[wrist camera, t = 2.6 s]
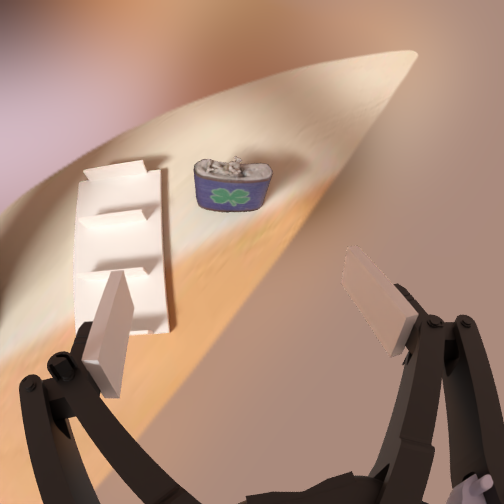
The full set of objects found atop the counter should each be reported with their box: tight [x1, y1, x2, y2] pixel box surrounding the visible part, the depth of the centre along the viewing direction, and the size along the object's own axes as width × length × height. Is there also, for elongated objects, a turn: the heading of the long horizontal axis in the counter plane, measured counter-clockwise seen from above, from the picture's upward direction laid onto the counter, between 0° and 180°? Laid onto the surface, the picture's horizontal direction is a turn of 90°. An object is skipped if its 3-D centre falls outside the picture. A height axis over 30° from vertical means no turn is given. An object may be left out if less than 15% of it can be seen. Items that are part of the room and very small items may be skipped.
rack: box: [73, 160, 170, 335], centre depth 36 cm, size 13×23×4 cm, turn 7°
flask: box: [194, 156, 273, 212], centre depth 37 cm, size 9×3×11 cm, turn 89°
